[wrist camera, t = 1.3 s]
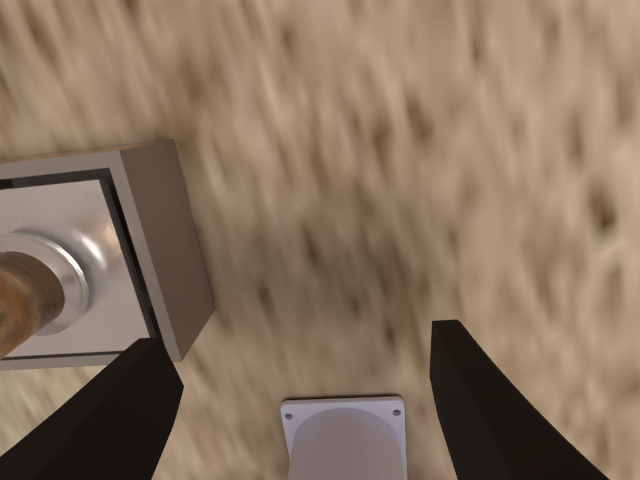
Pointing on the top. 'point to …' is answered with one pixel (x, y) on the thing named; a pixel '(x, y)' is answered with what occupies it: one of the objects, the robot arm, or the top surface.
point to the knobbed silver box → (134, 238)
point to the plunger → (67, 272)
